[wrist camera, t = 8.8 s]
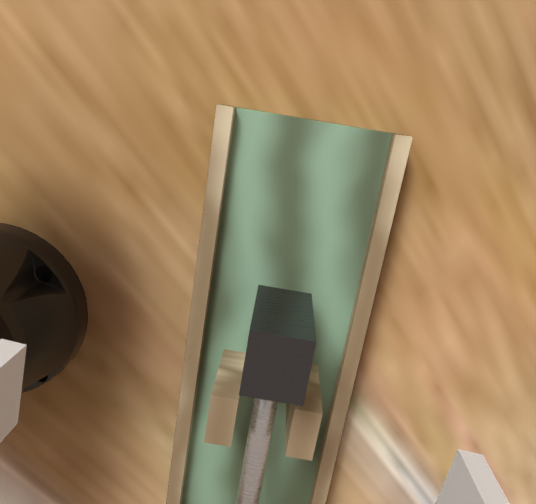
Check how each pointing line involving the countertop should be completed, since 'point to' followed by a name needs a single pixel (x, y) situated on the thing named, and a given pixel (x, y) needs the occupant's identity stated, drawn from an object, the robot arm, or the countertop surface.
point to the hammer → (273, 373)
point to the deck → (286, 277)
